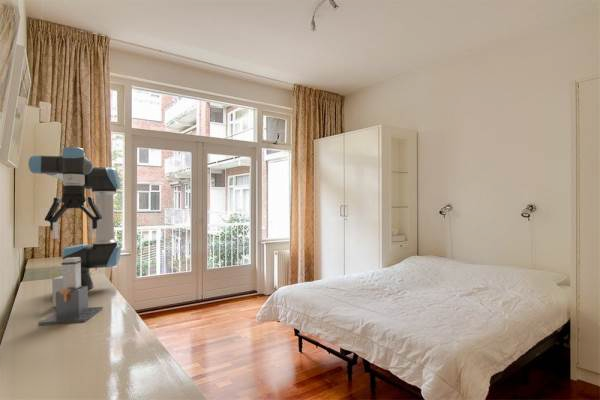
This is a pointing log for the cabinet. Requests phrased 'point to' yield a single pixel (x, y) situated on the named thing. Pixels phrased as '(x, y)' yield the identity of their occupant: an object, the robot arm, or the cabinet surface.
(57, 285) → the supplement box
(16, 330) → the cabinet surface
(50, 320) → the stand base
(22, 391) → the cabinet surface
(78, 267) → the column
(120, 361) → the cabinet surface
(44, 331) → the cabinet surface
